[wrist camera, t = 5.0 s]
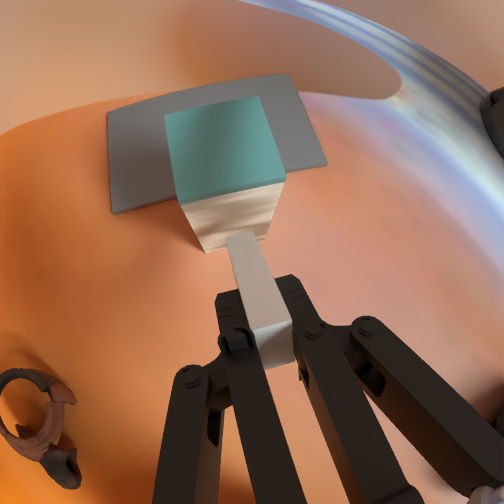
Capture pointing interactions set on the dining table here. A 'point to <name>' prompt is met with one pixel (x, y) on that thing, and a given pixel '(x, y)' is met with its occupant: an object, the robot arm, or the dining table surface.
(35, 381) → the vr controller
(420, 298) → the dining table surface
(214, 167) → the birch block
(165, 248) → the dining table surface
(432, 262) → the dining table surface
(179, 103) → the mat
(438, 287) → the dining table surface
